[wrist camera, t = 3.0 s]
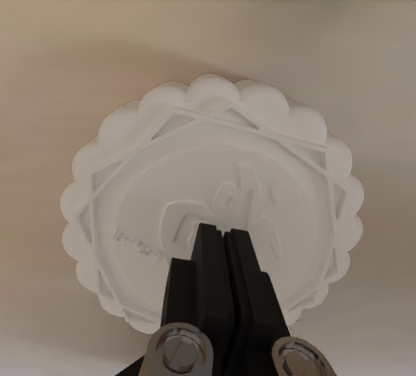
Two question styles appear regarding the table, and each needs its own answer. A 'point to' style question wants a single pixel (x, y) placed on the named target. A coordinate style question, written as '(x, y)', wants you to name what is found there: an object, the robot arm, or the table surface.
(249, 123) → the mooncake
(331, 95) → the table surface
